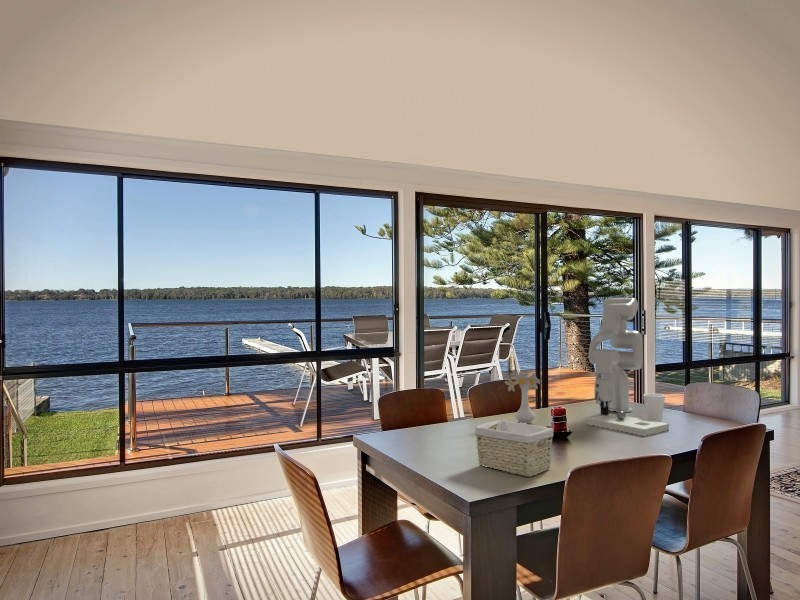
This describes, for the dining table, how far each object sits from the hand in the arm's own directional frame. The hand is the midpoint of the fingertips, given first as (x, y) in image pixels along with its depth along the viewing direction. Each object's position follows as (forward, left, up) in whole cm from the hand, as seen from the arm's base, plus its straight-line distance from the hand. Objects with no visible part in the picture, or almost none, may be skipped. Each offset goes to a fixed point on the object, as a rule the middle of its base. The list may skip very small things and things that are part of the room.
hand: (604, 414), depth 268 cm
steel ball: (+9, 0, +1) cm, 9 cm away
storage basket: (+27, -86, -4) cm, 90 cm away
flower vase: (-23, -30, -4) cm, 38 cm away
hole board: (+12, 0, -4) cm, 13 cm away
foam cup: (+13, +20, -4) cm, 24 cm away
